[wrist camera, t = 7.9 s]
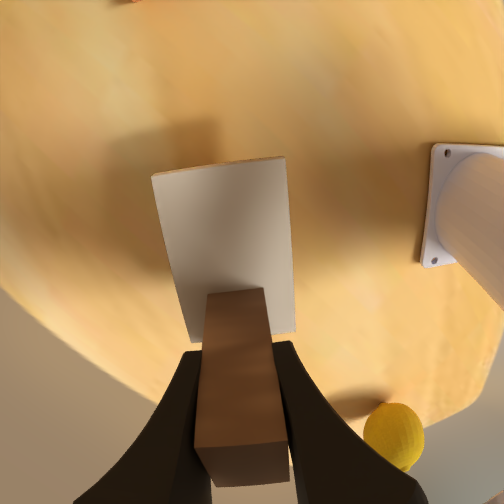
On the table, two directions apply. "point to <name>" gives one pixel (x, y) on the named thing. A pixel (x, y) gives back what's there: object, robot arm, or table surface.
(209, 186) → the brown grey l-shaped block
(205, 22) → the table surface
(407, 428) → the lemon
